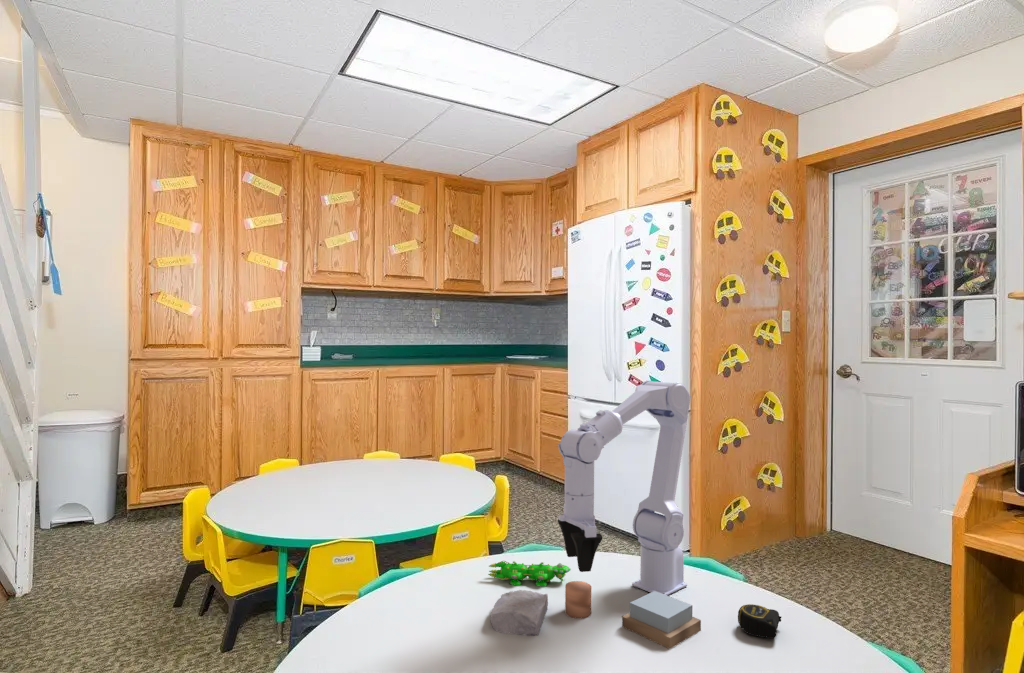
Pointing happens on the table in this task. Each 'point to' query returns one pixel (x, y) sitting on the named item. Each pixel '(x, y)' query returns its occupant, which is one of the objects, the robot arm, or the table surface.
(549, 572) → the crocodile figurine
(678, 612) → the tower top
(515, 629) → the stone block
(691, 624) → the tower base
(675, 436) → the robot arm
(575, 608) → the brown cylinder
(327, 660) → the table surface
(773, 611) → the tape measure
